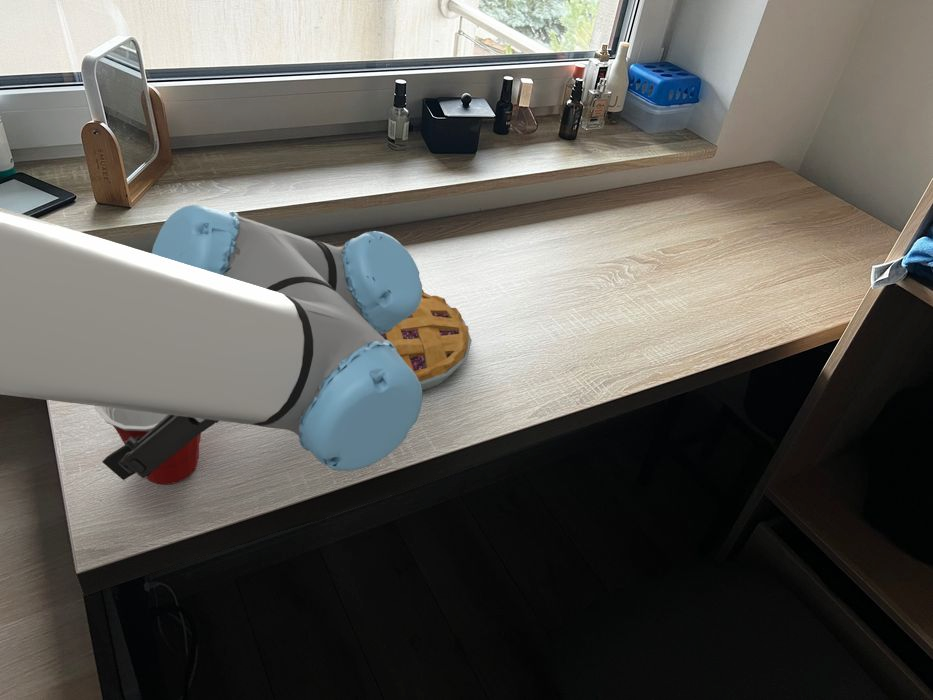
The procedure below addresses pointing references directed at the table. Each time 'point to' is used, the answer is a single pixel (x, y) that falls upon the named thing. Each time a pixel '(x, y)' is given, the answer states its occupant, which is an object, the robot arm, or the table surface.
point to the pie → (431, 340)
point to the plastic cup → (140, 425)
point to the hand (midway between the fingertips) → (156, 422)
